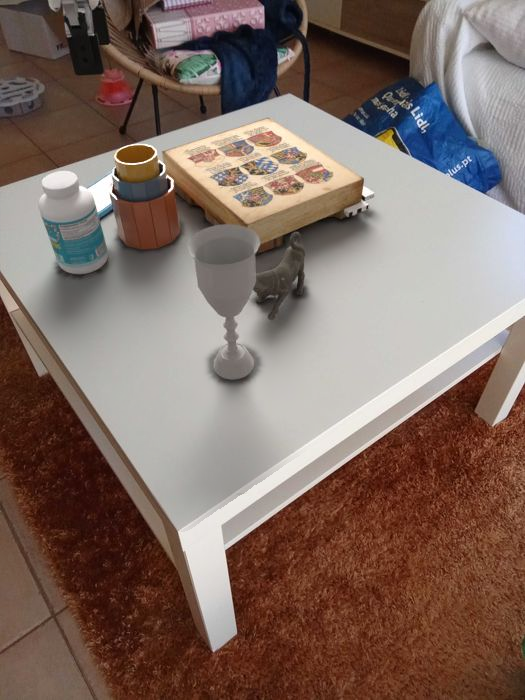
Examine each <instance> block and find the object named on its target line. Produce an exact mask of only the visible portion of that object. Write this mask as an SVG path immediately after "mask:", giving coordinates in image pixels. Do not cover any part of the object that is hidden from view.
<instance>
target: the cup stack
mask: <svg viewBox="0 0 525 700" xmlns="http://www.w3.org/2000/svg"><path fill="white" fill-rule="evenodd" d="M158 160H159V166H160V173H161V174H160V175H159V176H158V177H157V178H154V179H152V180H149V181H146V182H138V183H129V182H124V181H120V180H119V178H118V174H117V169H116V165H115V166H113V167H112V169H111V171H112V175H111V176H112V180H113V182H112V183H111V184H110V191H109V194H110V198H111V203H112V207H113V209H112V210H113V215H114V219H115V223H116V227H117V232H118V236H119V239H120V240H121V241H122V242H123V243H124V245H126V246H127V247H130V248H133V249H137V250H142V251H143V250H155V249H160V248H162V247H164V246H166V245H169V244H172V243H173V242H174V241H175V240H176V239H177V238H178V236H180V234H181V223H180V215H179V209H178V208H179V207H178V201H177V195H176V194H177V193H176V192H175V187H174V180H173V179H172V178H171V177H170V176H168V175H167V172H166V166H165V164H164V163H163V162H162V161H161V160H160V159H158Z"/></svg>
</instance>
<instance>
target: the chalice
mask: <svg viewBox="0 0 525 700" xmlns="http://www.w3.org/2000/svg"><path fill="white" fill-rule="evenodd" d="M259 245H260V240H259V237H258V235H257V234H256V233H255V232H254V231H252V230H250V229H249V228H247V227H243V226H240V225H231V224H224V225H215V226H214V225H212V226H207V227H205V228H203V229H201V230H198V231H197V232H196V233H194V234H193V235H192V236H191V237H190V239H189V240H188V242H187V251H188V252H189V254H190V256H191V257H192V259H194V267H195V274H196V281H197V287H198V289H199V290H200V292H201V294H202V295H203V297H204V299H205V300H206V303H208V305H209V306H210V307H211V308H212V309H213V310H214V311H215V312H216V314H217V315H219V316H220V317H223V318H225V321H224V322H223V325H222V326H223V328H224V329H225V330H226V332H225V333H224V334H223V339H224V340H225V341H226V342H227V343H226V344H224V345H222V347H221V348H219V350H218V351H217V354H216V356H215V358H214V360H213V363H212V367H213V371H214V372H215V374H216V375H218V376H219V377H221V378H222V379H226V380H230V381H231V380H240V379H242V378H246V377H247V376H248V375H250V374H251V373H252V371H253V370H254V367H255V360H254V358H253V356H252V355H251V353H250V352H249V350H248V349H247V347H245V346H244V345H243V344H240V343H238V342H237V341H238V339H239V338H240V334H239V333H238V331H236V329H237V328H238V325H239V323H238V322H237V321H236V319H235V317H237V316H238V315H240V314H241V313H242V311H243V310H244V308H245V306H246V305H247V303H248V301H250V298H251V295H252V293H253V291H254V290H253V288H254V285H255V283H256V273H257V269H256V268H257V267H256V264H257V263H256V255H257V254H256V252H257V250H258V248H259Z"/></svg>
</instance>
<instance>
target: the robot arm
mask: <svg viewBox="0 0 525 700" xmlns="http://www.w3.org/2000/svg"><path fill="white" fill-rule="evenodd" d="M47 2H48V6H49V8H50V10H52V11H54V12H59V11H60V9H61V6H62V14H63V22H64V30H65V37H66V42H67V46H68V51H69V55H70V60H71V63H72V67H73V72H74V74H75V75H76V76H80V77H81V76H96V75H99V76H101V75H103V74H104V72H105V66H104V62H103V57H102V52H101V51H102V50H101V46H109V45H110V44H111V36H110V30H109V26H108V25H109V24H108V19H107V14H106V9H105V6H103V0H47Z"/></svg>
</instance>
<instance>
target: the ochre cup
mask: <svg viewBox="0 0 525 700" xmlns="http://www.w3.org/2000/svg"><path fill="white" fill-rule="evenodd" d="M113 160H114V165H115V166H116V169H117V174H118V178H119V180H120V181H124V182H129V183H138V182H146V181H149V180H152V179H154V178H157V177H158V176H159V175H160V174H161V173H160V166H159V160H160V159H159V154H158V150H157V149H156V148H155V146H153V145H149V144H146V143H134V144H128V145H125V146H123V147H121V148H119V149H117V150H116V151H115V152H114V154H113Z"/></svg>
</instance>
